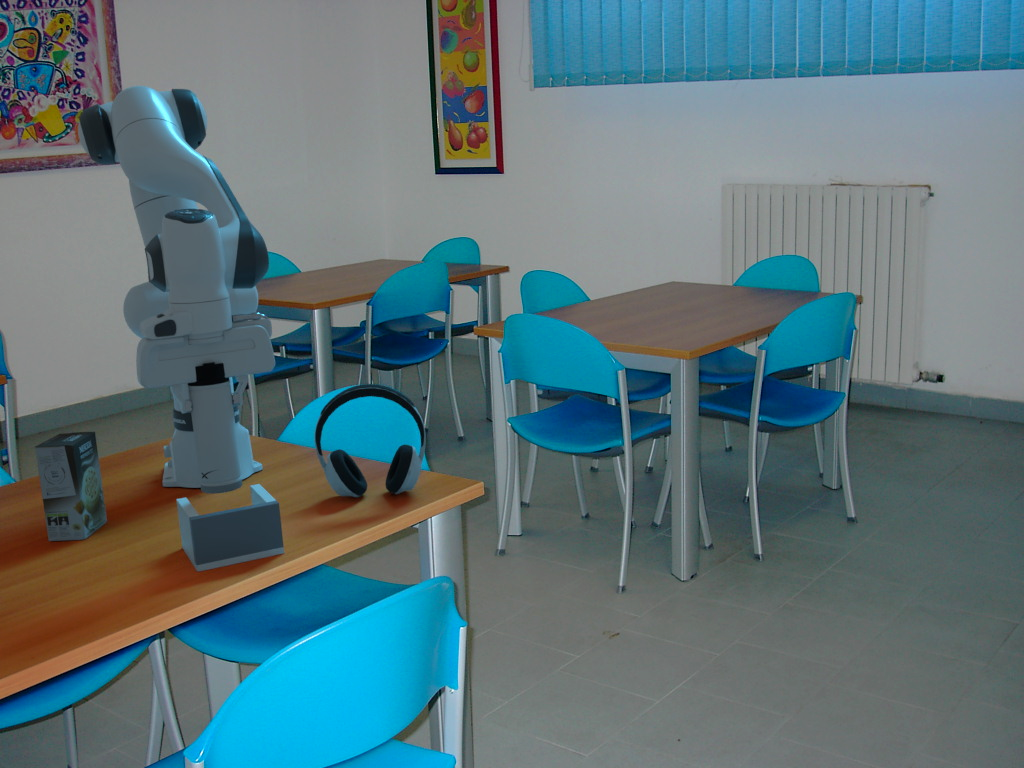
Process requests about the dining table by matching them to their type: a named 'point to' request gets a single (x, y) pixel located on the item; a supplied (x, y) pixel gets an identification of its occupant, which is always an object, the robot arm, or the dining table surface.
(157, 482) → the dining table surface
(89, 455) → the coffee box
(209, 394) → the travel mug
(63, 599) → the dining table surface
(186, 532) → the u-shaped bracket
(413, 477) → the headphones
